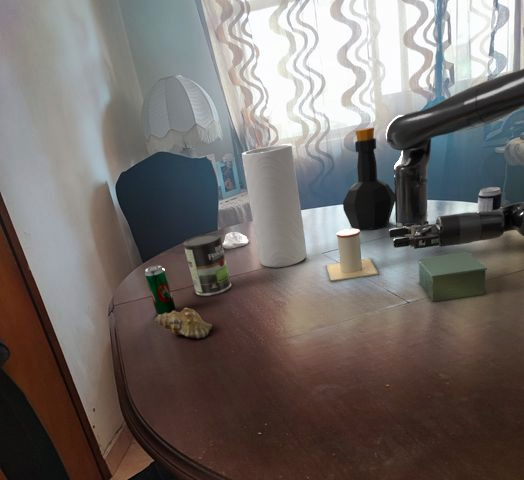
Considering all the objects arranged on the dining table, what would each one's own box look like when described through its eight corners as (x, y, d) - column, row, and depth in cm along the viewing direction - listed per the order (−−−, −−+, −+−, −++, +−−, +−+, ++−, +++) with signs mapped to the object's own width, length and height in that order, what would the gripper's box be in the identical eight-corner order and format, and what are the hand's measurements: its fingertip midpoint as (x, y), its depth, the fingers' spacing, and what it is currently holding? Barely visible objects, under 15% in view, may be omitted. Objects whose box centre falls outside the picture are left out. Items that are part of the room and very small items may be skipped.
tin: (418, 283, 108) (418, 259, 105) (466, 276, 107) (467, 251, 104) (432, 302, 99) (432, 276, 96) (485, 294, 97) (487, 267, 95)
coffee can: (238, 282, 130) (228, 233, 123) (217, 297, 123) (204, 245, 116) (210, 280, 135) (198, 233, 129) (187, 294, 128) (174, 245, 121)
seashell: (181, 357, 103) (150, 324, 100) (184, 346, 111) (155, 315, 108) (213, 332, 102) (182, 297, 99) (214, 322, 109) (185, 290, 106)
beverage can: (500, 234, 127) (504, 190, 121) (478, 237, 129) (480, 192, 123) (496, 229, 132) (499, 185, 126) (474, 231, 133) (476, 188, 128)
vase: (313, 251, 142) (300, 141, 127) (297, 268, 131) (280, 150, 116) (271, 252, 149) (254, 147, 133) (252, 269, 138) (231, 156, 123)
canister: (338, 266, 126) (335, 230, 121) (360, 263, 125) (358, 227, 120) (341, 274, 121) (337, 236, 116) (364, 270, 120) (361, 233, 115)
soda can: (158, 310, 122) (144, 267, 116) (176, 306, 122) (164, 263, 116) (155, 317, 117) (141, 273, 112) (175, 314, 117) (162, 269, 112)
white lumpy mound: (231, 227, 168) (252, 228, 163) (234, 239, 171) (254, 240, 165) (213, 236, 162) (234, 237, 156) (216, 248, 164) (236, 249, 158)
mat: (326, 266, 129) (326, 264, 129) (369, 259, 128) (369, 258, 128) (330, 281, 119) (330, 280, 118) (378, 274, 117) (378, 273, 117)
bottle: (363, 217, 167) (357, 126, 153) (404, 219, 156) (402, 121, 141) (336, 230, 158) (327, 135, 144) (377, 233, 147) (372, 131, 132)
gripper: (451, 207, 120) (386, 216, 122) (466, 221, 107) (394, 231, 110) (450, 235, 123) (388, 244, 126) (465, 252, 111) (395, 261, 114)
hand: (391, 238), depth 118 cm, fingers open, 8 cm apart
